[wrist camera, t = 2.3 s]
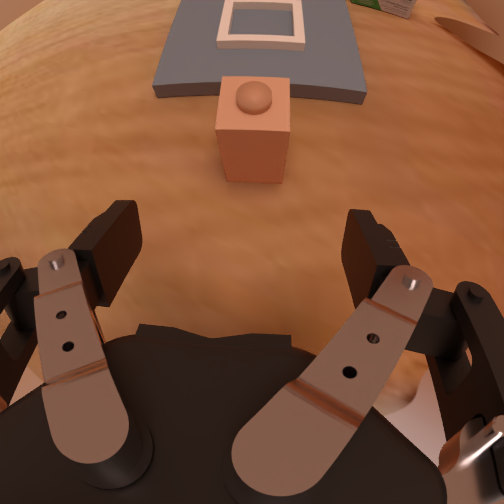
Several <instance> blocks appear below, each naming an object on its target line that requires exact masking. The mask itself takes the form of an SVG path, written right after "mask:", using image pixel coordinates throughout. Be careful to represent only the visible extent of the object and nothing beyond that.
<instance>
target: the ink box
mask: <svg viewBox="0 0 504 504" xmlns="http://www.w3.org/2000/svg"><path fill="white" fill-rule="evenodd" d="M351 2H352V3H356V4H360V5H363V6H367V7H371V8H374V9H378V10H381V11H384V12H388V13H391V14H394V15H397V16H400V17H403V18H406V19H408V18H409V16H410V14H411V11H412V9H413V7H414V5H415V2H416V0H351Z"/></svg>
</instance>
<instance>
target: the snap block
mask: <svg viewBox="0 0 504 504" xmlns="http://www.w3.org/2000/svg"><path fill="white" fill-rule="evenodd" d="M215 131H216V136H217V140H218V144H219V149H220V153H221V157H222V162H223V166H224V170H225V174H226V179H227V182H256V183H279V184H282V180H283V174H284V167H285V161H286V155H287V149H288V142H289V136H290V78H279V77H251V76H222V82H221V89H220V96H219V103H218V111H217V118H216V126H215Z"/></svg>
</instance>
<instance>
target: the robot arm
mask: <svg viewBox="0 0 504 504" xmlns="http://www.w3.org/2000/svg"><path fill="white" fill-rule="evenodd" d="M141 247H142V232H141V227H140V221H139V214H138V208H137V204H136V202H135V201H134V200H116V201H115V202H114V203H113V204H112V205H111V206H110V207H109V208H108V209H107V210H106V212H104V213H102V214H101V215H99V216H97V217H96V218H94V219H93V220H92V221H91V222H90V223H89V225H88V226H87V227H86V228H85V229H84V230H83V231H82V233H81V234H80V235H79V236H78V237H77V238H76V239H75V240H74V242H73V243H72V244H71V245H70V246H69V248H68V249H58V250H55V251H52V252H50V253H48V254H47V255H45V256H44V257H43V258H42V259H41V260H40V261H39V263H38V267H35V268H29V269H24V270H23V267H22V265H21V262H20V260H19V259H18V258H16V257H10V258H6V259H3V260H1V261H0V314H1V312H2V311H3V309H5V311H6V312H7V314H8V316H9V318H10V320H11V322H10V324H9V325H8V327H7V329H6V330H5V332H4V334H3V335H2V337H1V339H0V504H504V318H503V316H502V315H501V313H500V311H499V309H498V307H497V306H496V304H495V302H494V300H493V299H492V297H491V295H490V294H489V293H488V292H487V291H486V290H485V289H484V288H483V287H481V286H480V285H478V284H476V283H473V282H469V281H464V282H460V283H459V284H458V285H457V287H456V289H455V291H454V293H452V292H448V291H444V290H440V289H437V288H434V287H433V282H432V280H431V278H430V277H429V276H428V275H427V274H426V273H425V272H424V271H422V270H420V269H418V268H416V267H413V266H410V264H409V262H408V260H407V258H406V257H405V255H404V253H403V251H402V249H401V248H400V246H399V244H398V242H397V241H396V239H395V237H394V235H393V234H392V232H391V231H390V230H389V229H387V228H386V227H385V226H384V225H382V224H377V222H376V220H375V219H374V217H373V215H372V213H371V212H370V211H369V210H357V209H350V210H349V212H348V216H347V222H346V227H345V232H344V238H343V243H342V250H341V258H342V263H343V267H344V270H345V274H346V277H347V281H348V284H349V288H350V292H351V295H352V299H353V303H354V307H355V311H354V312H353V314H352V315H351V316H350V317H349V319H348V320H347V321H346V322H345V324H344V325H343V326H342V327H341V328H340V330H339V331H338V332H337V333H336V335H335V336H334V337H333V338H332V339H331V341H330V342H329V343H328V344H327V345H326V346H325V348H324V349H323V350H322V351H321V352H320V353H319V355H318V356H316V355H314V354H312V353H309V352H307V351H305V350H302V349H299V348H295V347H292V346H291V335H276V334H254V333H252V334H244V335H237V336H229V337H221V338H207V337H203V336H200V335H197V334H194V333H190V332H187V331H184V330H181V329H177V328H174V327H164V326H155V325H146V324H139V327H138V329H137V332H136V334H135V335H128V336H123V337H120V338H116V339H113V340H111V341H108V342H106V341H105V338H104V335H103V333H102V330H101V327H100V324H99V321H98V318H97V315H96V313H95V308H96V306H103V307H110V305H111V303H112V301H113V299H114V297H115V296H116V294H117V292H118V290H119V288H120V286H121V285H122V283H123V281H124V279H125V277H126V275H127V274H128V272H129V270H130V268H131V267H132V265H133V263H134V261H135V260H136V258H137V256H138V254H139V253H140V251H141ZM37 344H38V346H39V353H40V359H41V366H42V371H43V377H44V383H43V384H42V385H40V386H39V387H37V388H36V389H34V390H33V391H31V392H30V393H28V394H27V395H25V396H24V397H22V398H21V399H19V400H18V401H16V402H15V403H13V404H12V405H10V406H9V404H10V401H11V399H12V397H13V394H14V392H15V390H16V387H17V385H18V383H19V381H20V379H21V376H22V374H23V372H24V370H25V368H26V366H27V364H28V362H29V360H30V358H31V356H32V354H33V352H34V350H35V348H36V346H37ZM468 347H469V350H470V352H471V355H472V367H471V365H470V362H469V360H468V357H467V355H466V352H465V351H466V350H467V348H468ZM404 349H405V350H409V351H413V352H418V353H422V354H425V356H426V359H427V363H428V366H429V370H430V373H431V377H432V381H433V385H434V388H435V392H436V396H437V400H438V405H439V408H440V413H441V418H442V421H443V427H444V431H445V437H446V443H445V444H444V445H443V447H442V449H441V451H440V454H439V466H438V468H437V466H436V465H435V464H434V463H433V462H432V461H431V460H430V459H429V458H428V457H427V456H426V455H425V454H423V453H422V452H421V451H420V450H419V449H418V448H417V447H416V446H415V445H414V444H413V443H412V442H410V441H409V440H408V439H407V438H406V437H405V436H404V435H403V434H402V433H401V432H400V431H399V430H398V429H396V428H395V427H394V426H393V425H392V424H391V423H390V422H389V421H388V420H387V419H386V418H385V417H384V416H383V415H382V414H380V413H379V412H378V411H377V410H376V409H375V408H374V407H373V406H372V405H373V404H374V402H375V400H376V399H377V397H378V395H379V394H380V392H381V390H382V389H383V387H384V385H385V384H386V382H387V380H388V378H389V377H390V375H391V373H392V371H393V369H394V368H395V366H396V364H397V362H398V360H399V358H400V356H401V355H402V353H403V351H404ZM8 406H9V407H8Z"/></svg>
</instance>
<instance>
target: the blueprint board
mask: <svg viewBox="0 0 504 504" xmlns="http://www.w3.org/2000/svg"><path fill="white" fill-rule="evenodd" d="M222 76H251V77H279V78H290V97H299V98H311V99H322V100H331V101H340V102H348V103H356V104H362V103H363V101H364V98H365V96H366V94H367V89H366V83H365V78H364V73H363V69H362V64H361V59H360V55H359V51H358V46H357V42H356V38H355V34H354V30H353V26H352V23H351V19H350V15H349V12H348V8H347V5H346V1H345V0H181V3H180V5H179V8H178V10H177V13H176V16H175V18H174V21H173V24H172V26H171V29H170V32H169V35H168V38H167V40H166V43H165V46H164V49H163V52H162V55H161V58H160V62H159V65H158V68H157V71H156V75H155V78H154V81H153V85H152V86H153V89H154V91H155V93H156V95H157V98H162V97H177V96H199V95H220V89H221V82H222Z"/></svg>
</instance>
